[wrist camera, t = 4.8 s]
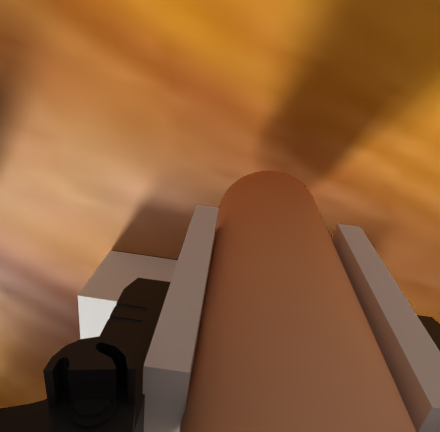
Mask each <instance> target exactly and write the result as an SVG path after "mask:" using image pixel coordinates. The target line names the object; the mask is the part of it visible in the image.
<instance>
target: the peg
mask: <svg viewBox="0 0 440 432" xmlns="http://www.w3.org/2000/svg"><path fill="white" fill-rule="evenodd" d="M180 432H416V429H415V427H414V425H413V423H412V420H411V418H410V416H409V414H408V411H407V409H406V407H405V405H404V402H403V400H402V398H401V395H400V393H399V391H398V389H397V386H396V384H395V382H394V380H393V377H392V375H391V373H390V371H389V368H388V366H387V364H386V362H385V359H384V357H383V355H382V352H381V350H380V348H379V346H378V343H377V341H376V339H375V337H374V334H373V332H372V330H371V328H370V325H369V323H368V321H367V319H366V316H365V314H364V312H363V309H362V307H361V305H360V303H359V300H358V298H357V296H356V294H355V291H354V289H353V287H352V285H351V282H350V280H349V278H348V276H347V273H346V271H345V269H344V266H343V264H342V262H341V260H340V257H339V255H338V253H337V251H336V248H335V246H334V244H333V242H332V239H331V237H330V235H329V233H328V230H327V228H326V226H325V223H324V221H323V219H322V217H321V214H320V212H319V210H318V208H317V205H316V203H315V201H314V199H313V196H312V195H311V193H310V191H309V190H308V189H307V187H306V186H305V185H304V184H303V183H301V182H300V181H299V180H297V179H296V178H294V177H292V176H290V175H288V174H285V173H281V172H277V171H261V172H255V173H252V174H249V175H247V176H245V177H243V178H241V179H239V180H238V181H236V182H235V183H234V184H233V185H232V186H231V187H230V188H229V189H228V190H227V192H226V193H225V194H224V196H223V198H222V200H221V203H220V206H219V211H218V218H217V226H216V234H215V239H214V245H213V251H212V257H211V263H210V269H209V275H208V280H207V286H206V292H205V298H204V304H203V310H202V316H201V321H200V327H199V333H198V339H197V345H196V351H195V357H194V362H193V368H192V374H191V380H190V386H189V392H188V398H187V403H186V409H185V412H184V414H183V417H182V421H181V426H180Z"/></svg>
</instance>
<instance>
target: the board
mask: <svg viewBox="0 0 440 432" xmlns="http://www.w3.org/2000/svg"><path fill="white" fill-rule="evenodd" d="M177 261H178V260H172V259H166V258H159V257H152V256H145V255H138V254H132V253H125V252H118V251H110V252H109V253H108V255H107V256H106V258H105V259H104V260H103V262H102V263H101V264H100V266H99V267H98V269H97V270H96V271H95V273H94V274H93V275H92V277H91V278H90V280H89V281H88V282H87V284H86V285H85V286H84V288H83V289H82V291H81V292H80V293H79V295H78V307H79V323H80V339H85V338H91V337H98V336H100V334H101V332H102V330H103V328H104V326H105V324H106V323H107V321H108V319H109V318H110V315H111V313H112V311H113V309H114V307H116V303H117V301H118V299H119V297H120V295H121V293H122V291H123V289H124V288H125V287H127V286H128V285H129V284H130V283H132V282H133V281H134V280H136V279H137V278H145V279H152V280H160V281H167V282H171V280H172V277H173V274H174V271H175V268H176V265H177Z"/></svg>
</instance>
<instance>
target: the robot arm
mask: <svg viewBox="0 0 440 432" xmlns="http://www.w3.org/2000/svg"><path fill="white" fill-rule="evenodd" d="M218 211H219V207H213V206H206V205H198V204H196V206H195V209H194V212H193V216H192V219H191V222H190V225H189V228H188V231H187V234H186V237H185V240H184V243H183V246H182V249H181V252H180V255H179V258H178V261H177V265H176V268H175V271H174V274H173V277H172V280H171V282H167V281H160V280H152V279H145V278H137V279H136V280H134V281H133V282H132V283H130V284H129V285H128V286H127V287H125V288H124V289H123V291H122V293H121V295H120V297H119V299H118V301H117V303H116V307H114V309H113V311H112V313H111V315H110V318H109V319H108V321H107V323H106V324H105V326H104V328H103V330H102V332H101V334H100V336H98V337H91V338H85V339H80V340H78V341H76V342H74V343H71V344H69V345H67V346H65V347H64V348H62V349H61V350H60V351H59V352H58V353H56V354H55V355H54V356H53V357H52V358H51V359H50V361H49V363H48V364H47V366H46V367H45V369H44V378H45V385H46V392H47V399H45V400H43V401H39V402H35V403H31V404H26V405H20V406H14V407H8V408H1V409H0V432H180V426H181V421H182V417H183V414H184V412H185V409H186V403H187V398H188V392H189V386H190V380H191V374H192V368H193V362H194V357H195V351H196V345H197V339H198V333H199V327H200V321H201V316H202V310H203V304H204V298H205V292H206V286H207V280H208V275H209V269H210V263H211V257H212V251H213V245H214V239H215V234H216V226H217V218H218ZM332 242H333V244H334V246H335V248H336V251H337V253H338V255H339V257H340V260H341V262H342V264H343V266H344V269H345V271H346V273H347V276H348V278H349V280H350V282H351V285H352V287H353V289H354V291H355V294H356V296H357V298H358V300H359V303H360V305H361V307H362V309H363V312H364V314H365V316H366V319H367V321H368V323H369V325H370V328H371V330H372V332H373V334H374V337H375V339H376V341H377V343H378V346H379V348H380V350H381V352H382V355H383V357H384V359H385V362H386V364H387V366H388V368H389V371H390V373H391V375H392V377H393V380H394V382H395V384H396V386H397V389H398V391H399V393H400V395H401V398H402V400H403V402H404V405H405V407H406V409H407V411H408V414H409V416H410V418H411V420H412V423H413V425H414V427H415V429H416V432H440V324H439V323H438V322H437V321H435V320H434V319H433V318H432V317H427V316H419V315H416V313H415V312H414V310H413V308H412V307H411V305H410V304H409V302H408V301H407V299H406V297H405V296H404V294H403V293H402V291H401V290H400V288H399V286H398V285H397V283H396V282H395V280H394V279H393V277H392V275H391V274H390V272H389V271H388V269H387V268H386V266H385V264H384V263H383V261H382V260H381V258H380V256H379V255H378V253H377V252H376V250H375V249H374V247H373V245H372V244H371V242H370V241H369V239H368V238H367V236H366V234H365V233H364V231H363V230H362V228H361V227H359V226H352V225H344V224H337V227H336V231H335V234H334V237H333V241H332Z"/></svg>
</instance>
